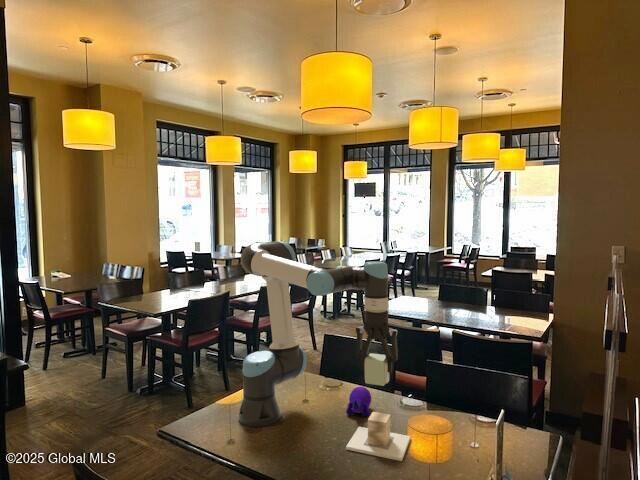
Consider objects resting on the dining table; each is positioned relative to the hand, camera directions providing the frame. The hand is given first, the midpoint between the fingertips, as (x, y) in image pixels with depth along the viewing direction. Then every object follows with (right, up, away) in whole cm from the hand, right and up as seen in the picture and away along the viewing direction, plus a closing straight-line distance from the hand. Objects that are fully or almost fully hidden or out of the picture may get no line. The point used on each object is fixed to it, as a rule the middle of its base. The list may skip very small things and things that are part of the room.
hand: (377, 380), depth 143 cm
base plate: (+1, -21, +2) cm, 22 cm away
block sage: (0, 0, 0) cm, 0 cm away
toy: (-4, -20, +24) cm, 32 cm away
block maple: (+1, -20, +1) cm, 20 cm away
